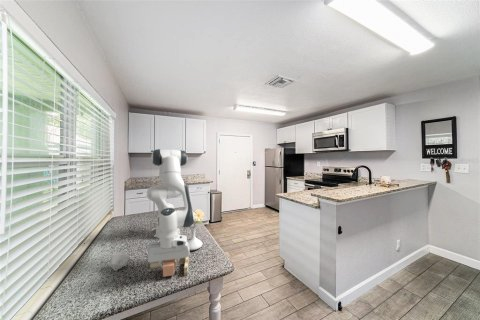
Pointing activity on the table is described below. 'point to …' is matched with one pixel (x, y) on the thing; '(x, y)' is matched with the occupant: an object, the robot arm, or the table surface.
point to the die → (118, 260)
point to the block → (169, 267)
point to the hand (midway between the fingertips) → (169, 267)
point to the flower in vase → (194, 242)
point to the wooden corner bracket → (181, 261)
